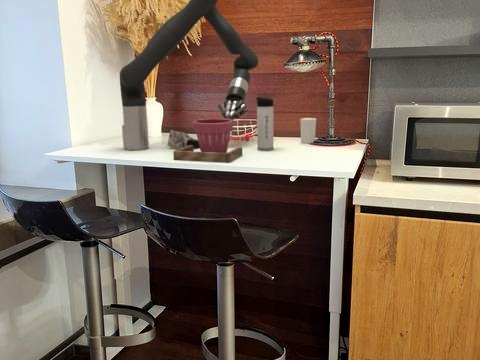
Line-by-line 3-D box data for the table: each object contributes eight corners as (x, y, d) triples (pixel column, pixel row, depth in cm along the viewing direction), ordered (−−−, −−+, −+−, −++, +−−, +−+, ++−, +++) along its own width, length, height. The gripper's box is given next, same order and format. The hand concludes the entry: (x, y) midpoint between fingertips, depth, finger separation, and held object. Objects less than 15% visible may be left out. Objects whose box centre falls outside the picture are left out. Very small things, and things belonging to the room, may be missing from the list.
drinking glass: (314, 144, 186) (314, 119, 184) (298, 143, 189) (298, 119, 186) (317, 141, 193) (317, 118, 190) (301, 141, 195) (301, 117, 192)
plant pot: (225, 159, 158) (224, 123, 155) (188, 158, 162) (187, 122, 159) (238, 152, 171) (237, 118, 168) (203, 151, 175) (202, 118, 172)
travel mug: (261, 147, 181) (261, 96, 176) (276, 148, 178) (276, 97, 173) (253, 150, 176) (253, 97, 171) (268, 151, 172) (268, 98, 168)
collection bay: (173, 159, 160) (173, 151, 159) (190, 152, 172) (189, 145, 171) (229, 162, 153) (229, 153, 152) (242, 155, 165) (242, 147, 164)
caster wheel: (202, 152, 186) (190, 153, 177) (179, 145, 190) (166, 145, 181) (205, 137, 185) (194, 136, 176) (182, 130, 189) (169, 129, 180)
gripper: (219, 85, 185) (209, 118, 177) (250, 85, 181) (240, 119, 173) (225, 97, 192) (214, 130, 183) (254, 97, 187) (245, 131, 179)
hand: (227, 124), depth 178 cm, fingers closed
